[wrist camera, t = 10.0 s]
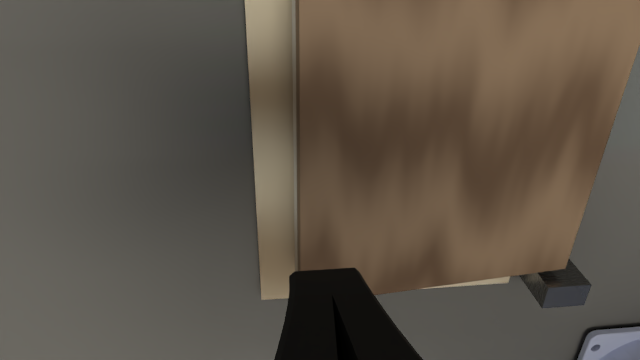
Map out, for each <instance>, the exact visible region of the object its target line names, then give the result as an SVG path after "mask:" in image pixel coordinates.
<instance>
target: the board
mask: <svg viewBox="0 0 640 360" xmlns="http://www.w3.org/2000/svg"><path fill="white" fill-rule="evenodd" d="M245 15H246V33H247V51H248V69H249V86H250V104H251V122H252V140H253V157H254V175H255V193H256V211H257V228H258V246H259V264H260V282H261V299H262V300H267V299H282V298H289V276H290V275H291V274H292V273H293V272H295V236H294V151H293V66H292V0H245ZM509 278H510V276H509V277H502V278H494V279H487V280H480V281H473V282H465V283H458V284H451V285H444V286H436V287H429V288H441V287H456V286H470V285H485V284H499V283H508V282H509ZM422 289H427V288H422Z"/></svg>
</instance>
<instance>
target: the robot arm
mask: <svg viewBox="0 0 640 360" xmlns="http://www.w3.org/2000/svg"><path fill="white" fill-rule="evenodd" d="M274 360H423V359H422V358H421V357H420V356H419V354H418V353H417V352H416V351H415V349H414V348H413V347H412V346H411V344H410V343H409V342H408V341H407V339H406V338H405V337H404V335H403V334H402V333H401V332H400V330H399V329H398V328H397V327H396V325H395V324H394V322H393V321H392V320H391V318H390V317H389V316H388V314H387V313H386V312H385V310H384V309H383V307H382V306H381V304H380V303H379V302H378V300H377V299H376V297H375V296H374V294H373V293H372V291H371V290H370V288H369V287H368V285H367V283H366V282H365V280H364V279H363V277H362V275H361V274H360V272H359V271H358V270H357V269H356V268H339V269H324V270H308V271H295V272H293V273H292V274H291V275H290V276H289V299H288V306H287V311H286V317H285V322H284V326H283V330H282V334H281V337H280V341H279V345H278V349H277V353H276V356H275V359H274ZM577 360H640V327H628V328H616V329H603V330H594V331H592V332H590V333H589V334H588V335H587V336H586V339H585V341H584V344H583V346H582V349H581V351H580V354H579V357H578V359H577Z"/></svg>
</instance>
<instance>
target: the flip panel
mask: <svg viewBox="0 0 640 360" xmlns="http://www.w3.org/2000/svg"><path fill="white" fill-rule="evenodd" d="M639 45H640V0H292V66H293V151H294V236H295V271H308V270H324V269H339V268H356V269H357V270H358V271H359V272H360V274H361V275H362V277H363V279H364V280H365V282H366V283H367V285H368V287H369V288H370V290H371V291H372V293H373V294H374V295H378V294H385V293H393V292H400V291H407V290H415V289H422V288H429V287H436V286H444V285H451V284H458V283H465V282H473V281H480V280H487V279H494V278H502V277H509V276H516V275H524V274H531V273H538V272H545V271H553V270H560V269H565V268H566V265H567V262H568V259H569V256H570V253H571V250H572V247H573V244H574V241H575V238H576V235H577V232H578V229H579V226H580V223H581V220H582V217H583V214H584V211H585V208H586V205H587V202H588V199H589V196H590V193H591V189H592V186H593V183H594V180H595V177H596V174H597V171H598V168H599V165H600V162H601V159H602V156H603V153H604V150H605V147H606V144H607V141H608V138H609V135H610V132H611V129H612V126H613V123H614V120H615V117H616V114H617V111H618V108H619V105H620V102H621V99H622V96H623V93H624V90H625V87H626V84H627V81H628V78H629V75H630V72H631V69H632V66H633V63H634V60H635V57H636V54H637V51H638V48H639Z"/></svg>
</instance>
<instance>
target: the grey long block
mask: <svg viewBox="0 0 640 360" xmlns="http://www.w3.org/2000/svg"><path fill="white" fill-rule="evenodd" d="M519 276H520V277H521V279H522V280H523V281H524V283H525V284H526V286H527V287H528V289H529V290H530V291H531V293H532V294H533V296H534V297H535V299H536V300H537V302H538V303H539V304H540V306H541V307H542V308H552V307H565V306H578V305H584V303H585V301H586V298H587V295H588V293H589V290H590V287H591V284H590V283H589V281H588V280H587V279H586V278H585V277H584V276H583V274H582V273H581V272H580V271H579V270H578V269H577V268H576V266H575V265H574V264H573V263H572V262H571V261H570V259H568V262H567V265H566V268H565V269H560V270H553V271H545V272H538V273H531V274H524V275H519Z"/></svg>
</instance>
